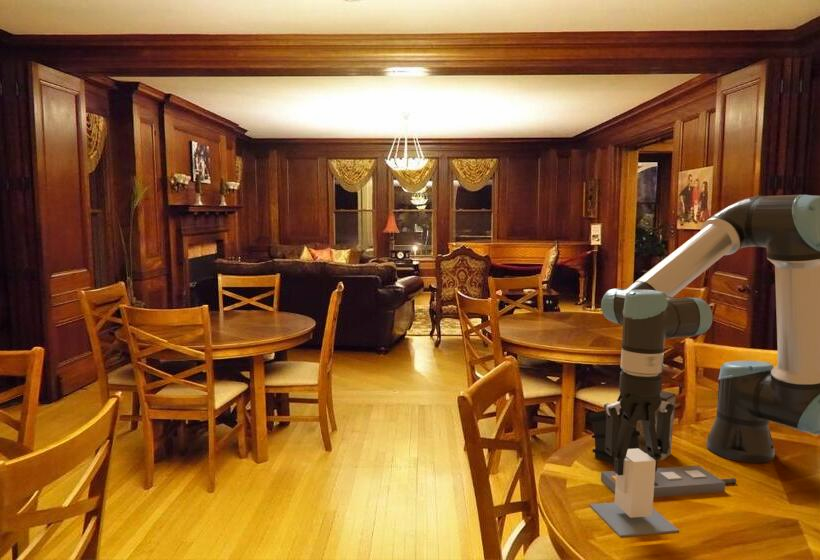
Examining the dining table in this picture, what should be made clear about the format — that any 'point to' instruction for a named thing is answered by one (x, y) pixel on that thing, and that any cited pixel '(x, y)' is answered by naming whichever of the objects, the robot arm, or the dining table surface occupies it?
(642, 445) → the coffee box
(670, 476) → the power strip
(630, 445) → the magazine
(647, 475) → the beige rectangular block
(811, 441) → the dining table surface
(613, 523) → the slate mat
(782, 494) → the dining table surface
